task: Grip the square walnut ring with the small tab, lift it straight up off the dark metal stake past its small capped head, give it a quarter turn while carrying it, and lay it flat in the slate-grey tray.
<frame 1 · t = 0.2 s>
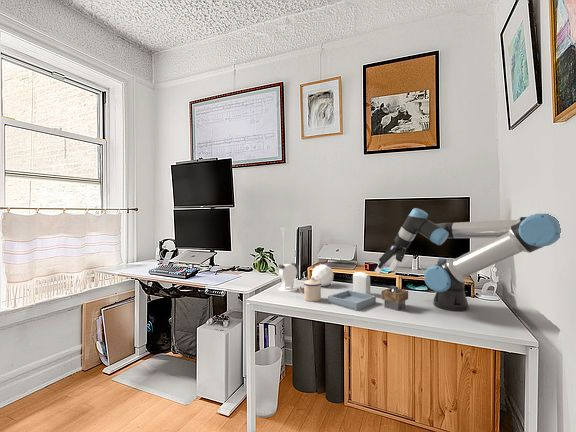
hand: (384, 271, 163), 15 cm above the table, tool tilted 30°, fingers open, 13 cm apart
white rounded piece: (288, 289, 188), on the table
photo printer: (361, 294, 175), on the table
slate tray: (351, 303, 160), on the table
geodesic sphere: (322, 285, 196), on the table
walnut ring: (394, 299, 152), point 4 cm above the table, touching metal stake
teacup with lid: (309, 299, 167), on the table
metal stake: (394, 307, 152), on the table
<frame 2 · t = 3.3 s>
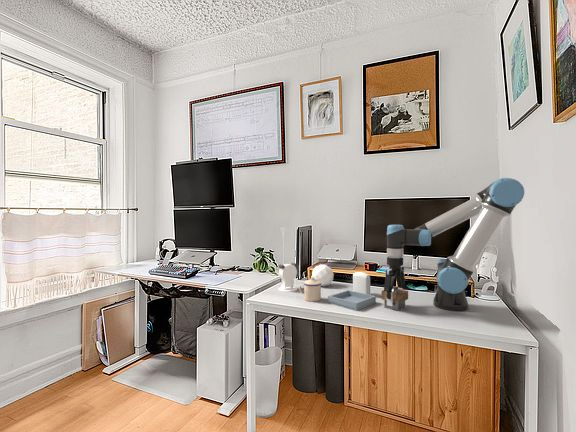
hand: (394, 303, 152), 2 cm above the table, tool pointing down, fingers closed on walnut ring, 9 cm apart
walnut ring: (394, 299, 152), point 4 cm above the table, touching gripper, metal stake
everything else where it was.
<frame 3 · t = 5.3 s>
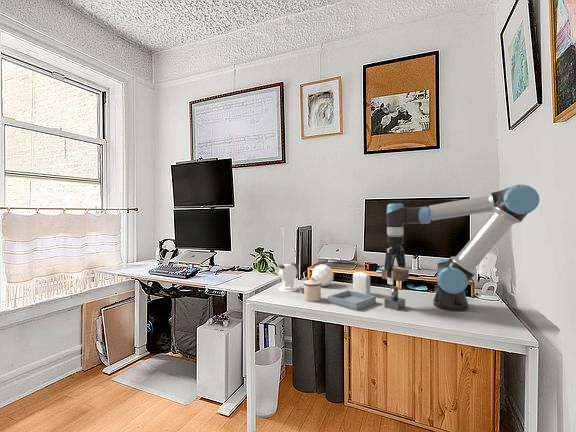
hand: (395, 282, 152), 12 cm above the table, tool pointing down, fingers closed on walnut ring, 9 cm apart
walnut ring: (395, 278, 152), point 14 cm above the table, touching gripper
everything else where it was.
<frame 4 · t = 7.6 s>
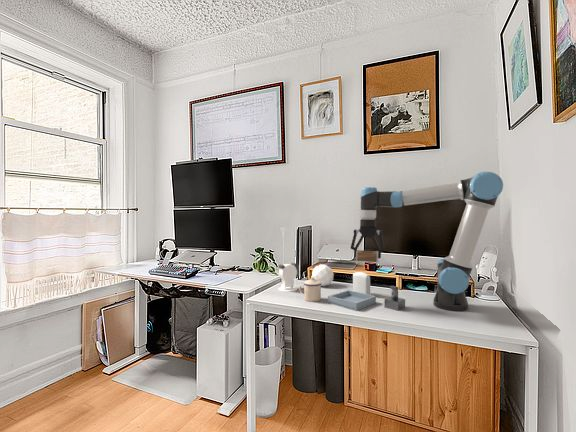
hand: (367, 264, 156), 20 cm above the table, tool pointing down, fingers closed on walnut ring, 9 cm apart
walnut ring: (367, 260, 156), point 22 cm above the table, touching gripper
everything else where it was.
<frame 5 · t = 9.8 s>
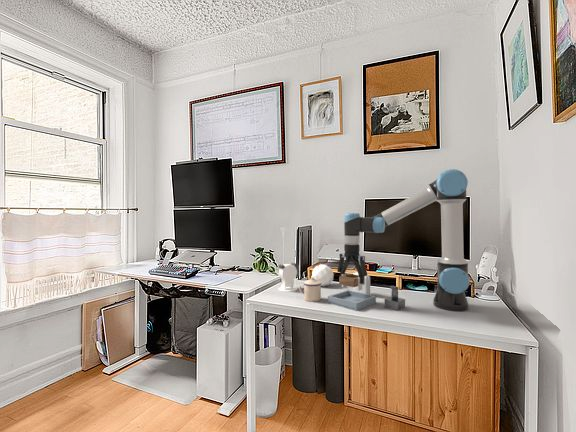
hand: (351, 288, 159), 8 cm above the table, tool pointing down, fingers closed on walnut ring, 9 cm apart
walnut ring: (351, 284, 159), point 10 cm above the table, touching gripper
everything else where it was.
when the fingers open (2 cm above the table, at t = 11.9 s): walnut ring drops 3 cm, resting on slate tray.
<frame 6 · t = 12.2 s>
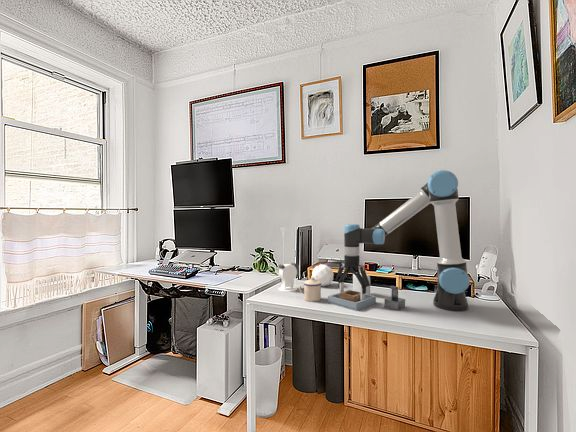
hand: (351, 297, 159), 3 cm above the table, tool pointing down, fingers open, 12 cm apart
walnut ring: (351, 301, 160), point 1 cm above the table, touching slate tray
everything else where it was.
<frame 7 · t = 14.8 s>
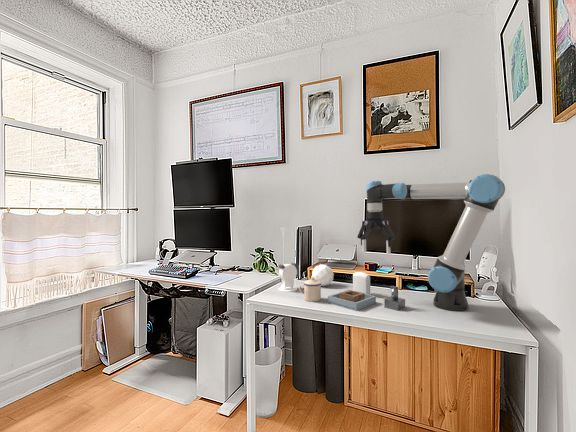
hand: (376, 252, 163), 25 cm above the table, tool pointing down, fingers open, 13 cm apart
nothing on the table moved.
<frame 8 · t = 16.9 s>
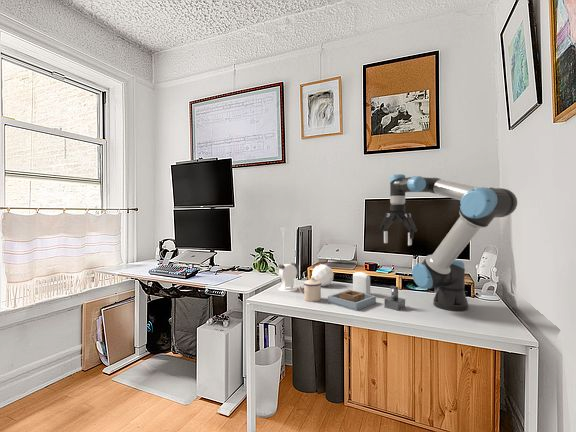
hand: (397, 244, 168), 29 cm above the table, tool pointing down, fingers open, 13 cm apart
nothing on the table moved.
at the end: walnut ring inside the target area on the slate tray (0.0 cm from its centre), point 1.0 cm above the slate tray's base; walnut ring tilted 0°; walnut ring touching slate tray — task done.
